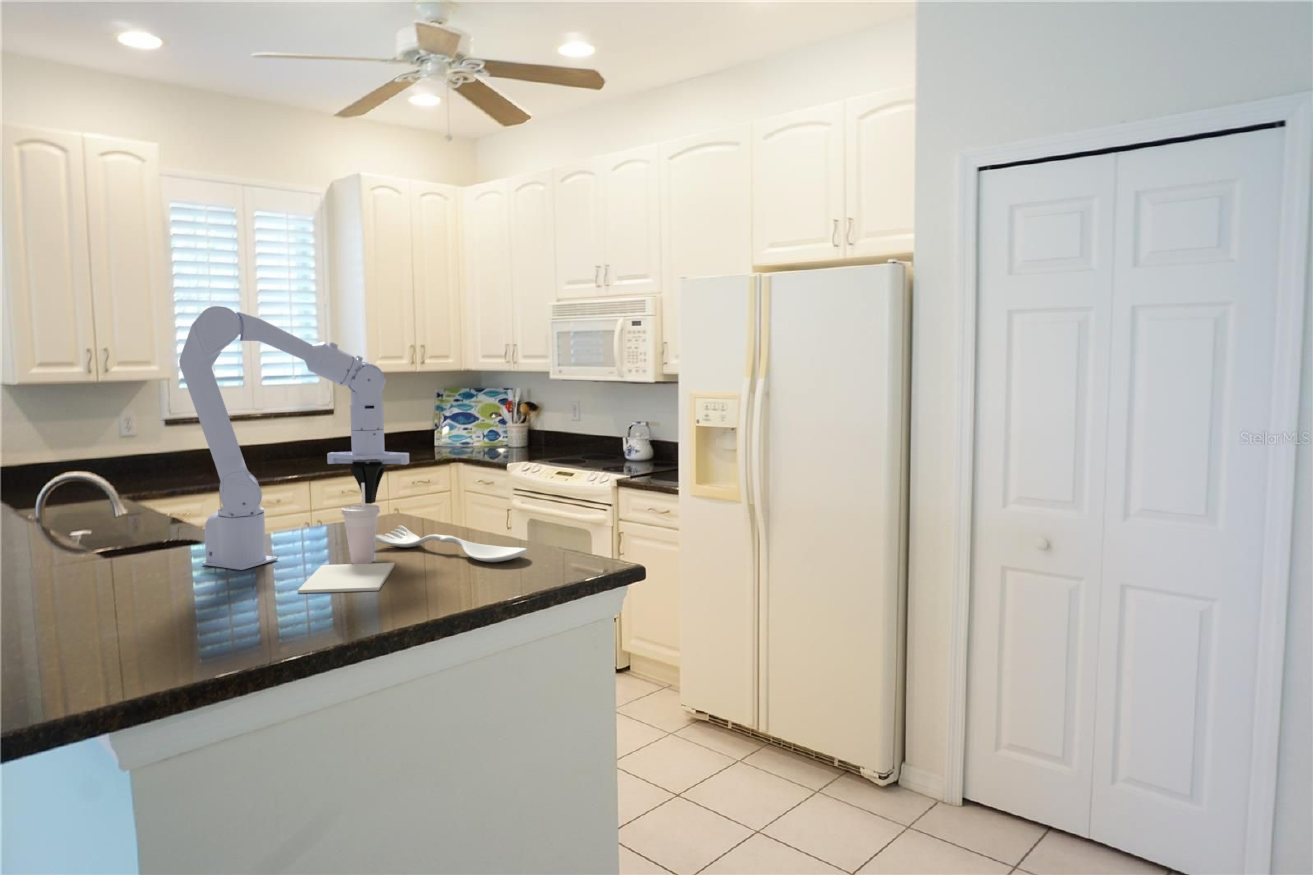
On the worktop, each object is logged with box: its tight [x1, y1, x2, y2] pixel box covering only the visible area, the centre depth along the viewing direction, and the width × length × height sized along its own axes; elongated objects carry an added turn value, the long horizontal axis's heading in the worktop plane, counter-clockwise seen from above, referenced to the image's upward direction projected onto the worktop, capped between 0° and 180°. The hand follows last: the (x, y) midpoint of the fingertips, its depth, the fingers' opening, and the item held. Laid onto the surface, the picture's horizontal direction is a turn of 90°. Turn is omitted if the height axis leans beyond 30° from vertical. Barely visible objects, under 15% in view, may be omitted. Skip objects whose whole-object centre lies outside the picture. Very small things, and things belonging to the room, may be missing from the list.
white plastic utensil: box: [375, 525, 528, 563], centre depth 157 cm, size 9×32×4 cm, turn 64°
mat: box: [297, 562, 395, 594], centre depth 140 cm, size 15×12×1 cm
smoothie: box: [340, 483, 381, 564], centre depth 150 cm, size 6×6×14 cm
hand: (369, 502), depth 158 cm, fingers closed
